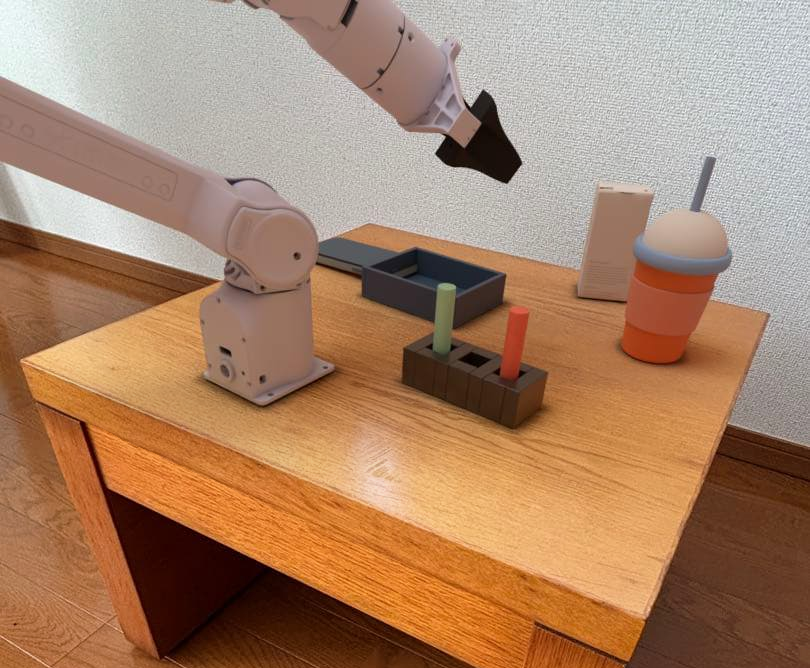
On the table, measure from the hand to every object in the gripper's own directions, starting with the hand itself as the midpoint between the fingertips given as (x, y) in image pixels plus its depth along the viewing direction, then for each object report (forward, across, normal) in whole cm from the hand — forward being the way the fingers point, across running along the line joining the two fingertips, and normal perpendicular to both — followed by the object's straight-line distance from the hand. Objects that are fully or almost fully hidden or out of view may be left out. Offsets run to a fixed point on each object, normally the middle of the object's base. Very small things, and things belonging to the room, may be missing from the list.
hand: (494, 154), depth 58 cm
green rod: (+3, -10, +17) cm, 20 cm away
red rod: (+5, -16, +14) cm, 23 cm away
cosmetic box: (+27, +5, +4) cm, 28 cm away
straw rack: (+4, -13, +16) cm, 21 cm away
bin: (+10, +8, +16) cm, 20 cm away
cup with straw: (+23, -10, +4) cm, 26 cm away
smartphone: (+7, +21, +20) cm, 29 cm away
